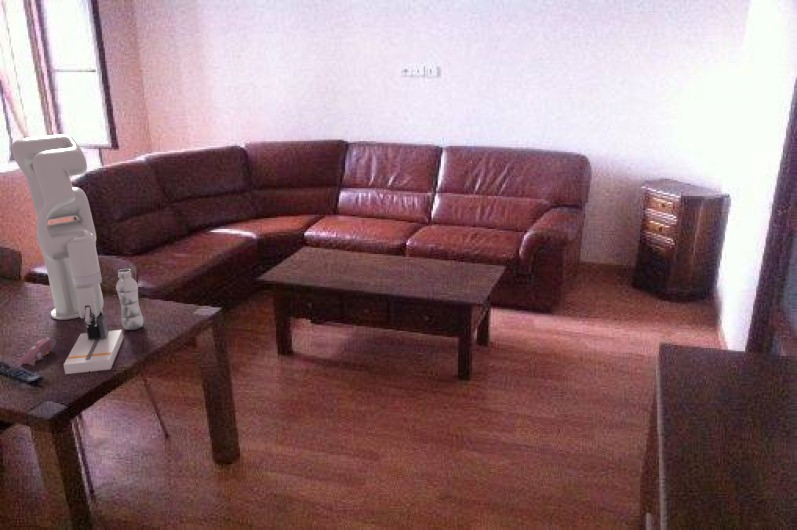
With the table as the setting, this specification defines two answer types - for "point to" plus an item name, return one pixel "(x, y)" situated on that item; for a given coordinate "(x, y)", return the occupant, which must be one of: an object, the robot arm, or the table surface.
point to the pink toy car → (38, 350)
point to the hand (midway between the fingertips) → (97, 332)
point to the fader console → (93, 353)
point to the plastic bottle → (129, 300)
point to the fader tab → (100, 326)
